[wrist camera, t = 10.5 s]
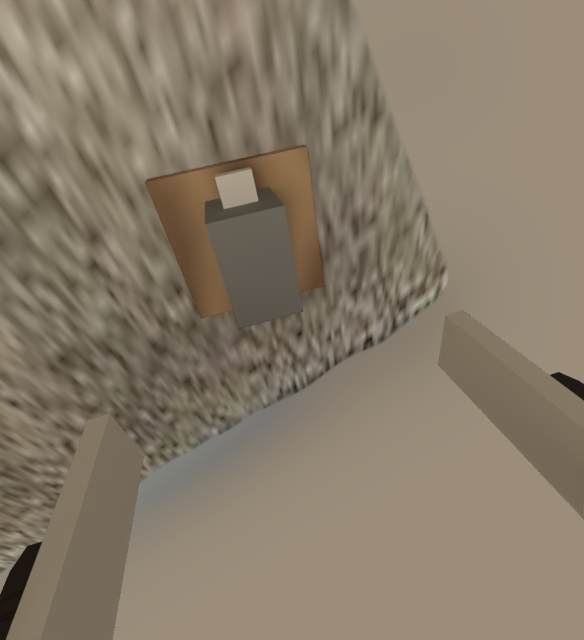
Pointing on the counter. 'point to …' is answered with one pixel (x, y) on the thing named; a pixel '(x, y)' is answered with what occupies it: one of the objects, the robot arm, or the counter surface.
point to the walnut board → (200, 186)
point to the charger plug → (253, 249)
